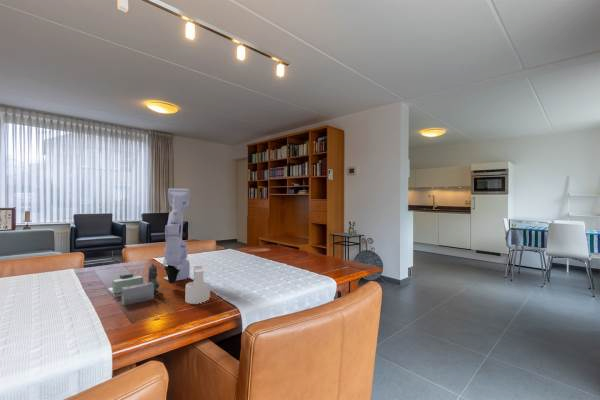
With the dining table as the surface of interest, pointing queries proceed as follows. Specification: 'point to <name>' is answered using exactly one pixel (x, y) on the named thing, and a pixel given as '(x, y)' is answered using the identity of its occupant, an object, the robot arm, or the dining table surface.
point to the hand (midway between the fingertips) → (172, 282)
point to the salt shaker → (153, 278)
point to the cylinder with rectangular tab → (197, 288)
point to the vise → (135, 293)
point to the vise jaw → (126, 282)
